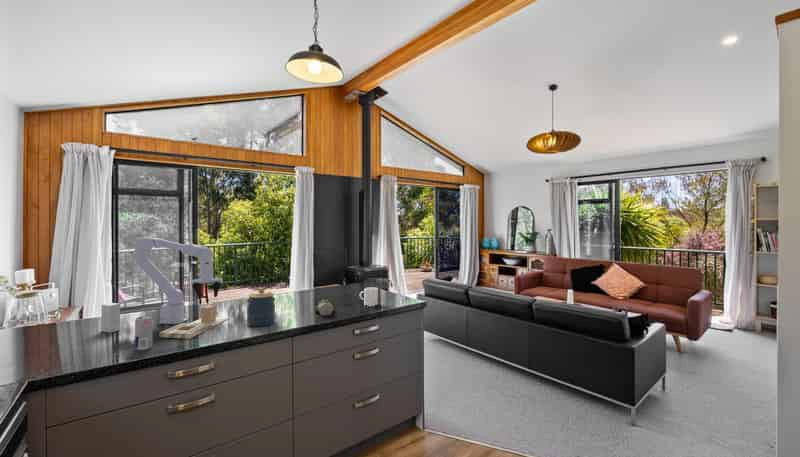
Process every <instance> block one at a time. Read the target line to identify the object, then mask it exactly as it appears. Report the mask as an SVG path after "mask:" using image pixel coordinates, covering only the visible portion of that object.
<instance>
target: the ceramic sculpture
mask: <svg viewBox="0 0 800 457" xmlns="http://www.w3.org/2000/svg"><path fill="white" fill-rule="evenodd" d="M313 309H314V311H316V312H319V314H320V315H321V316H324V317H327V316H330V315H331V314H332V313H333V310H334V305H332V303H331V302H330V300H329V299H327V298H326V297H325V298H323V299H322V300H319V302H318V305H317V306H314V308H313Z"/></svg>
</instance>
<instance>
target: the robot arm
mask: <svg viewBox="0 0 800 457" xmlns="http://www.w3.org/2000/svg"><path fill="white" fill-rule="evenodd" d="M153 247H154V249H160V248H166V249H170V250H175V251H181V253H182V254H183V255H186V256H191V257H195V258H199V273H200V274H199V275H200V278H197V279H192V280H190V284H191V285H192V288H193V289H194V290H195V292H196V295H197V298H198V299H200V298H202V296H203V294H202V291H203V290H202V287H203V284H211V285H212V287H213V297H214V298H216V297H218V296H219V294H218V293H219V290H220V287H221V285H222V283H224V279H223V278H216V277H215V278H214V266H213V262H214V261H213V256H214V252H213V250H212V249H211V248H209V247H207V246H204V245H202V244H201V245H197V244H194V243H193V242H192V241H191V242H185V243H178V242H176V241H170V240H166V239H164V238H157V237H149V236H141V237H140V238H139V239H138V240H137V242H136V244H135V246H134V262H135V264H137V265H138V267H140V269H142V270H143V271H144V272H145V274H146V275H147V276H148V277H149V278H150V279H151V280H152V281H153V282H154V283H155V284H156V285H157V286H158V287H159V289H160V290H162V292H163V294H164V295H165V296H166V297H167V300H168V302H166V303H164V304H162V305H161V307H160V312H159V315H160V318H159V319H160V321H159V322H158V324H165V325H166V324H167V325H168V324H169V325H179V324H181V323H185V321H188V320H189V318H185V301H184V298H185V297H184V294H183V291H182V290H181V289H179V288H178V287H176V286H174V284H173V283H171V281H170V280H169V279H168V278H167V277H166V276H165V275H164V274H163V273H162V272H161V271H160V270H159V269H158V267H157V266H156V265H155V264H154V263H153V262H152V261H151V260H150V259H149V256H150V253H151V251H152V249H153Z"/></svg>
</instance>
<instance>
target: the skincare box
mask: <svg viewBox="0 0 800 457" xmlns="http://www.w3.org/2000/svg"><path fill="white" fill-rule="evenodd" d="M100 308H101V309H100V310H101V316H100V317H101V332H103V331H104V333H115V332H118V331H121V303H118V302H117V303H116V302H107V303H103V304H101V307H100Z"/></svg>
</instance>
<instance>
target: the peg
mask: <svg viewBox="0 0 800 457" xmlns="http://www.w3.org/2000/svg"><path fill="white" fill-rule="evenodd" d="M200 312H201V313H200V314H201V316H200V319H201V322H205V323H211V322H213V321H215V320H216V317H217V306H216V305H205V306H203V307H201V309H200Z"/></svg>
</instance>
